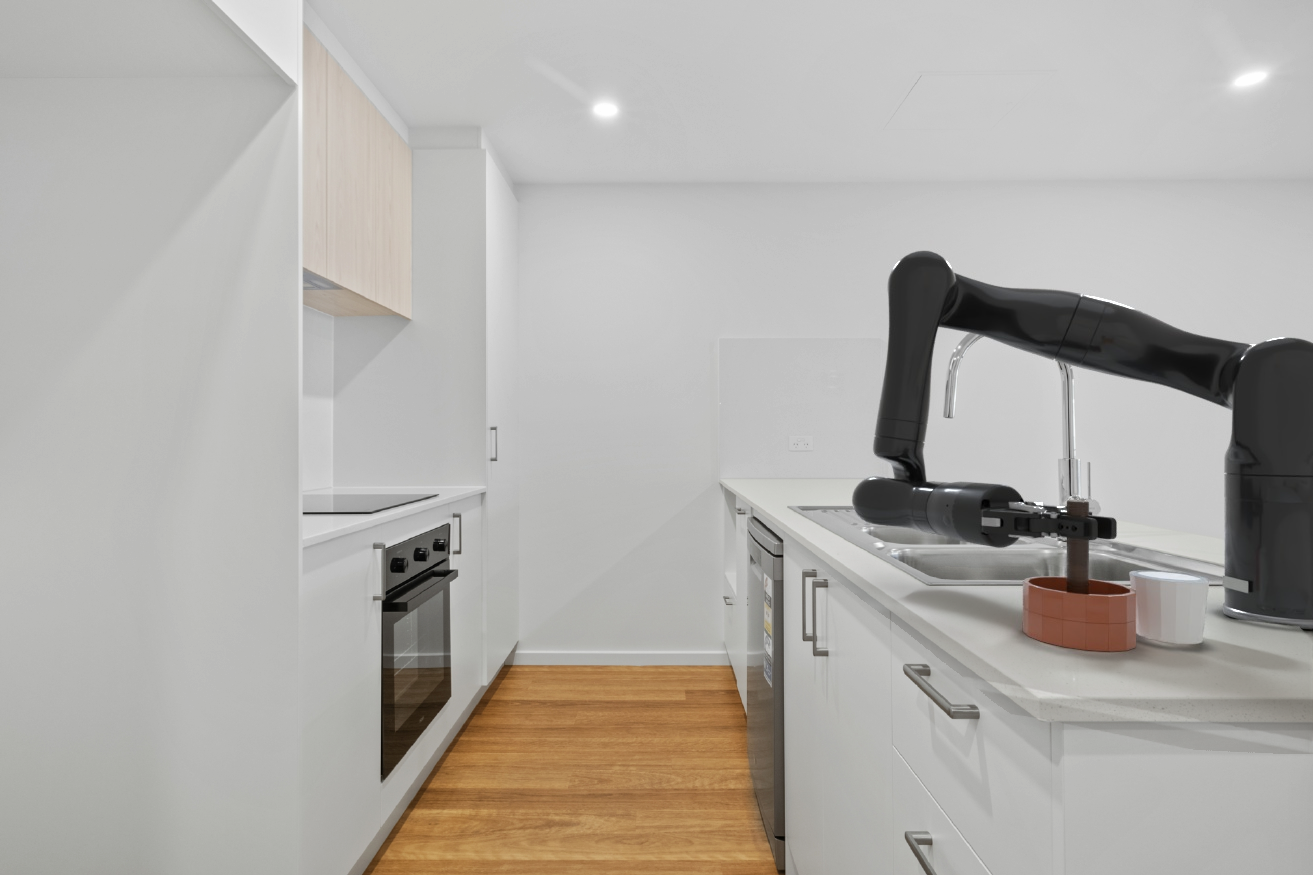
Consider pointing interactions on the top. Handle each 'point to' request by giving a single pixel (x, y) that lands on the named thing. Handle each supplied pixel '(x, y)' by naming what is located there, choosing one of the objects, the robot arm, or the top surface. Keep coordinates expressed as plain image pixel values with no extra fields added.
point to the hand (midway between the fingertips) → (1104, 529)
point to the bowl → (1080, 614)
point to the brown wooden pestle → (1078, 553)
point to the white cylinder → (1170, 605)
